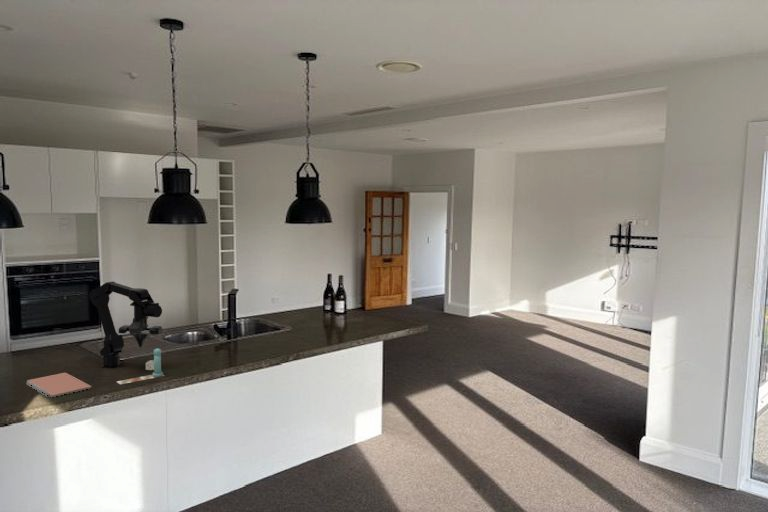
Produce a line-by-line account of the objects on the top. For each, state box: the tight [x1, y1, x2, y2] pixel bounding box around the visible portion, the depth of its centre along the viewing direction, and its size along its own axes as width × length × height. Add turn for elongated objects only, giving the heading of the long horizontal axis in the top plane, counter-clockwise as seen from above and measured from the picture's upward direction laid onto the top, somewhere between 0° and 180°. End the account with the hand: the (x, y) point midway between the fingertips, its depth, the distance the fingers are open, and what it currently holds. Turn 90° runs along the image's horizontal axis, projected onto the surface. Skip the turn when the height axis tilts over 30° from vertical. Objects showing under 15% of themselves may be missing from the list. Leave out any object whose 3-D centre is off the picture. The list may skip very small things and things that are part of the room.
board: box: [116, 374, 165, 385], centre depth 247 cm, size 21×6×2 cm, turn 135°
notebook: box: [26, 372, 92, 399], centre depth 238 cm, size 27×17×2 cm, turn 52°
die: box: [145, 359, 154, 371], centre depth 262 cm, size 5×5×5 cm
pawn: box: [151, 348, 164, 378], centre depth 252 cm, size 4×4×13 cm
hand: (140, 347), depth 261 cm, fingers closed
